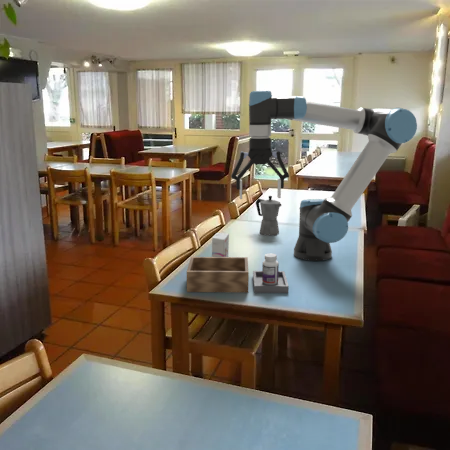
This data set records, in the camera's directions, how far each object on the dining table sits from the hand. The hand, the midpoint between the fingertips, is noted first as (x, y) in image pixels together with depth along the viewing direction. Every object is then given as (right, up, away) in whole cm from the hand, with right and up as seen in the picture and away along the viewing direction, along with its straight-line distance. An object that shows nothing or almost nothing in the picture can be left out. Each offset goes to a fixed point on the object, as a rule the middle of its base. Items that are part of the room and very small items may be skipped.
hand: (260, 198), depth 163 cm
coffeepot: (+8, -13, +56) cm, 58 cm away
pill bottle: (+3, -29, -8) cm, 30 cm away
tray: (+3, -30, -8) cm, 31 cm away
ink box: (-14, -25, +11) cm, 31 cm away
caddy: (-15, -30, -7) cm, 34 cm away
